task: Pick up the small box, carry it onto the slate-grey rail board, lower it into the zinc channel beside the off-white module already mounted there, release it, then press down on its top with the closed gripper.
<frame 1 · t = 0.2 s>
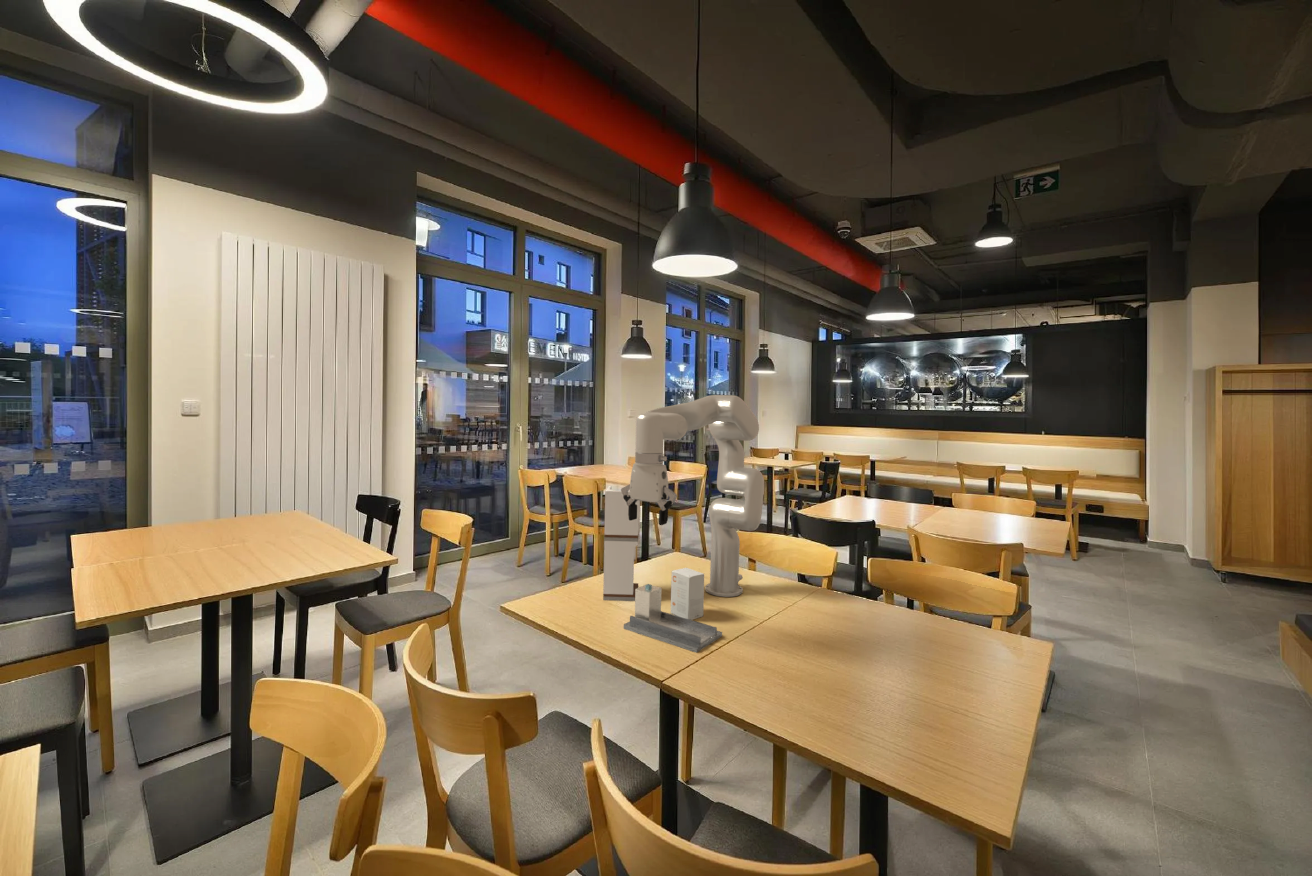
hand: (647, 521, 152), 31 cm above the table, fingers open, 9 cm apart
rail board: (672, 632, 154), on the table
tall banded cabinet: (621, 595, 184), on the table
small box: (686, 615, 167), on the table
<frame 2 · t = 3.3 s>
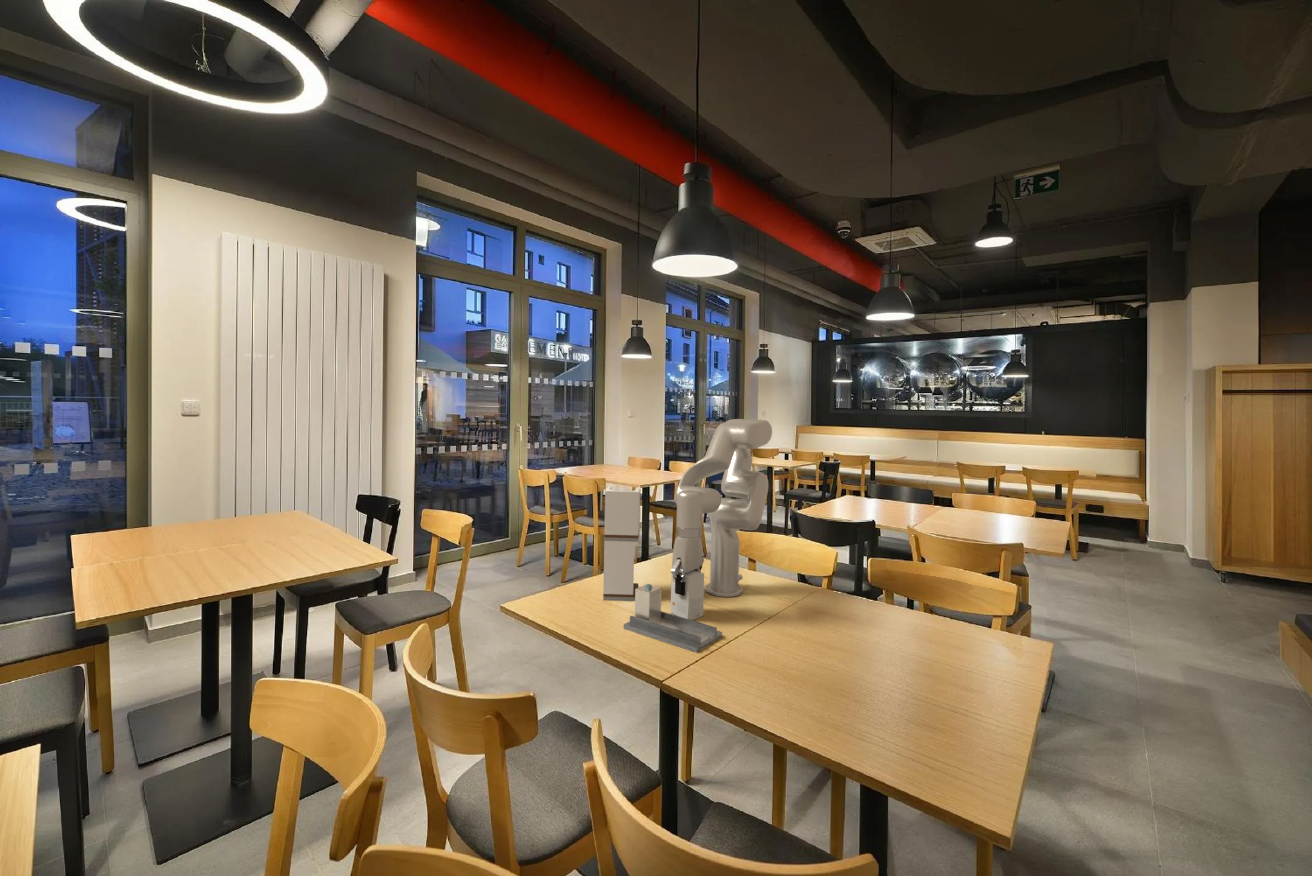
hand: (687, 590, 167), 7 cm above the table, fingers closed on small box, 7 cm apart
small box: (686, 615, 167), on the table, touching gripper
everything else where it was.
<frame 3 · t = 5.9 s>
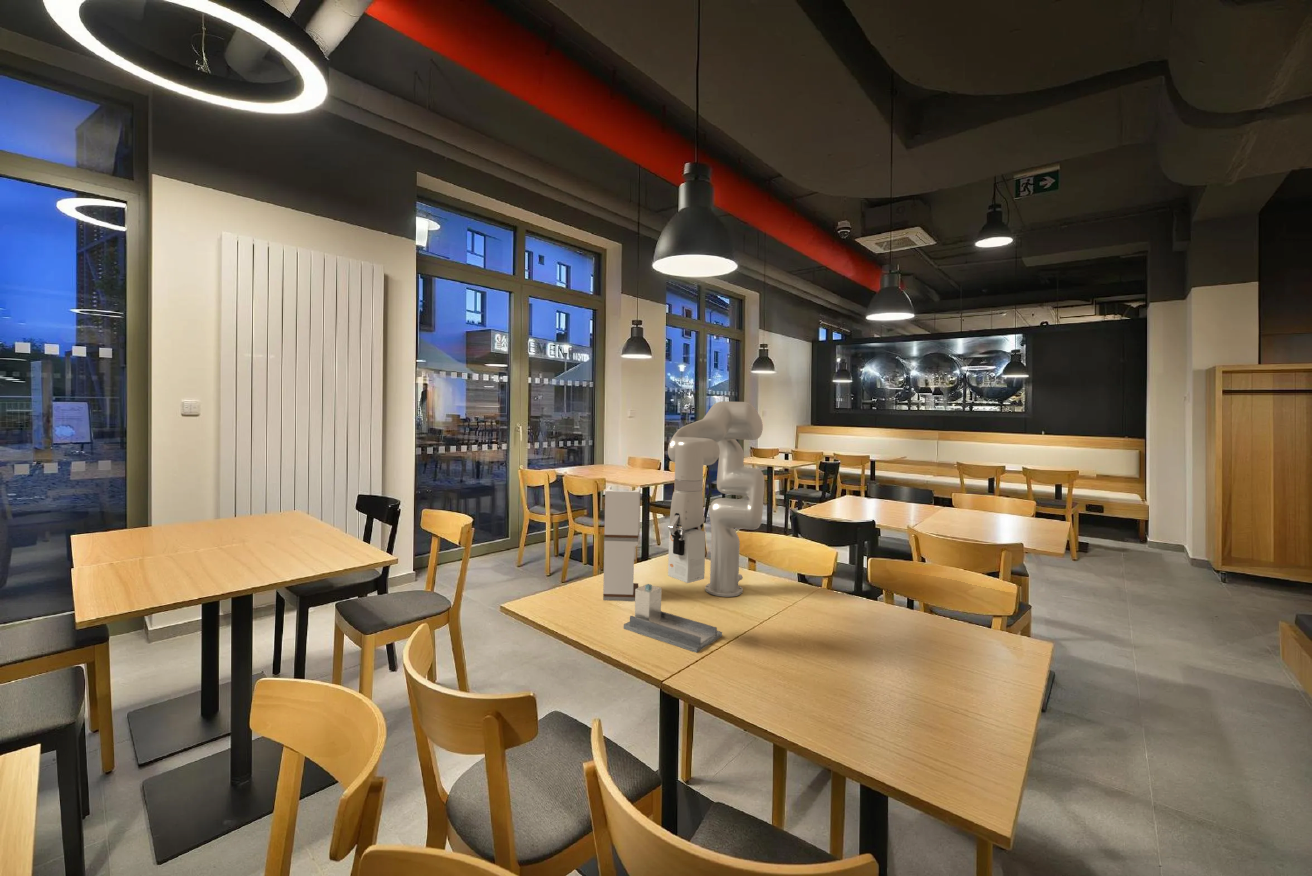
hand: (686, 550, 151), 23 cm above the table, fingers closed on small box, 7 cm apart
small box: (686, 578, 151), point 16 cm above the table, touching gripper
everything else where it was.
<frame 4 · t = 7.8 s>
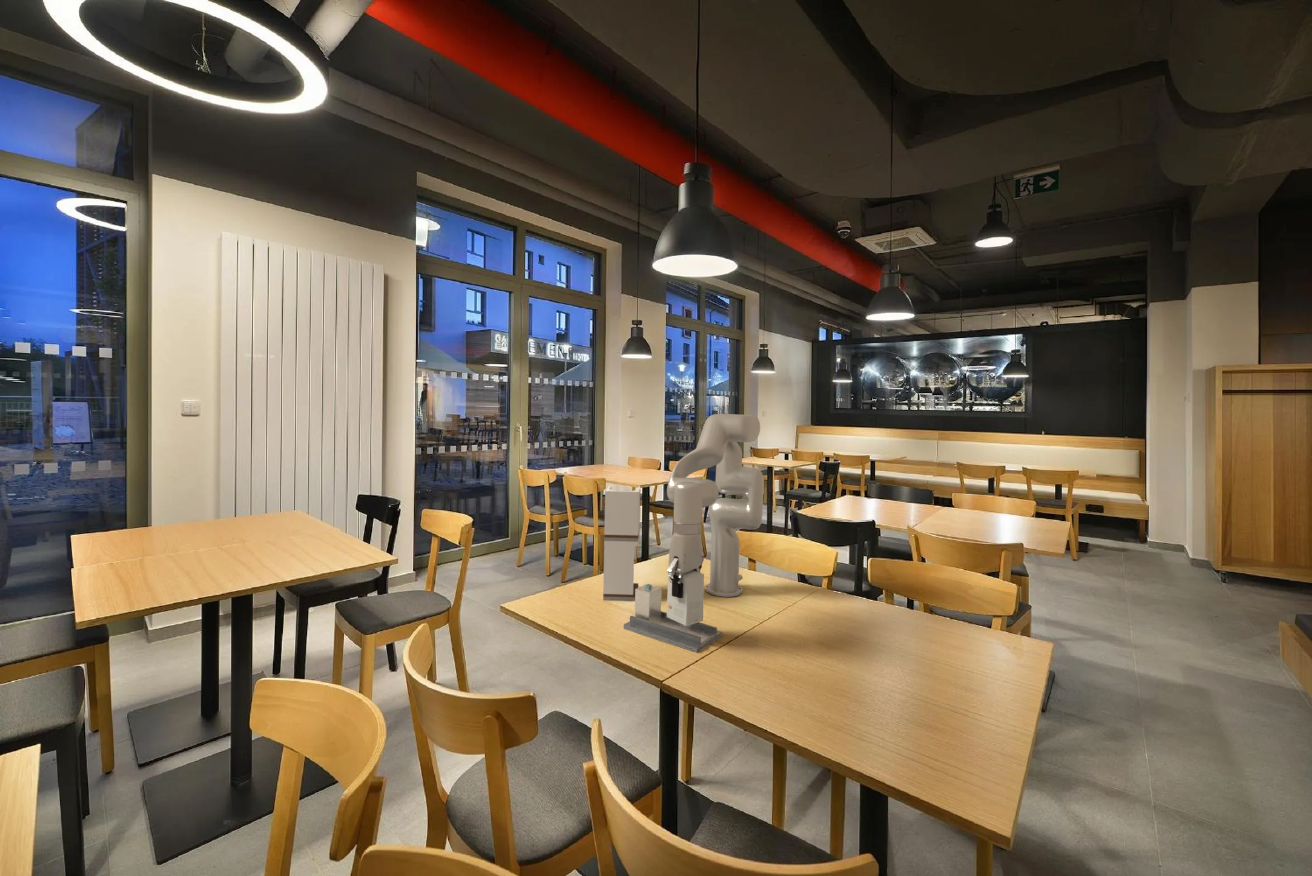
hand: (685, 592, 151), 12 cm above the table, fingers closed on small box, 7 cm apart
small box: (684, 620, 152), point 4 cm above the table, touching gripper
everything else where it was.
when the fingers open (10 cm above the table, at t = 8.9 s): small box stays where it is, resting on rail board.
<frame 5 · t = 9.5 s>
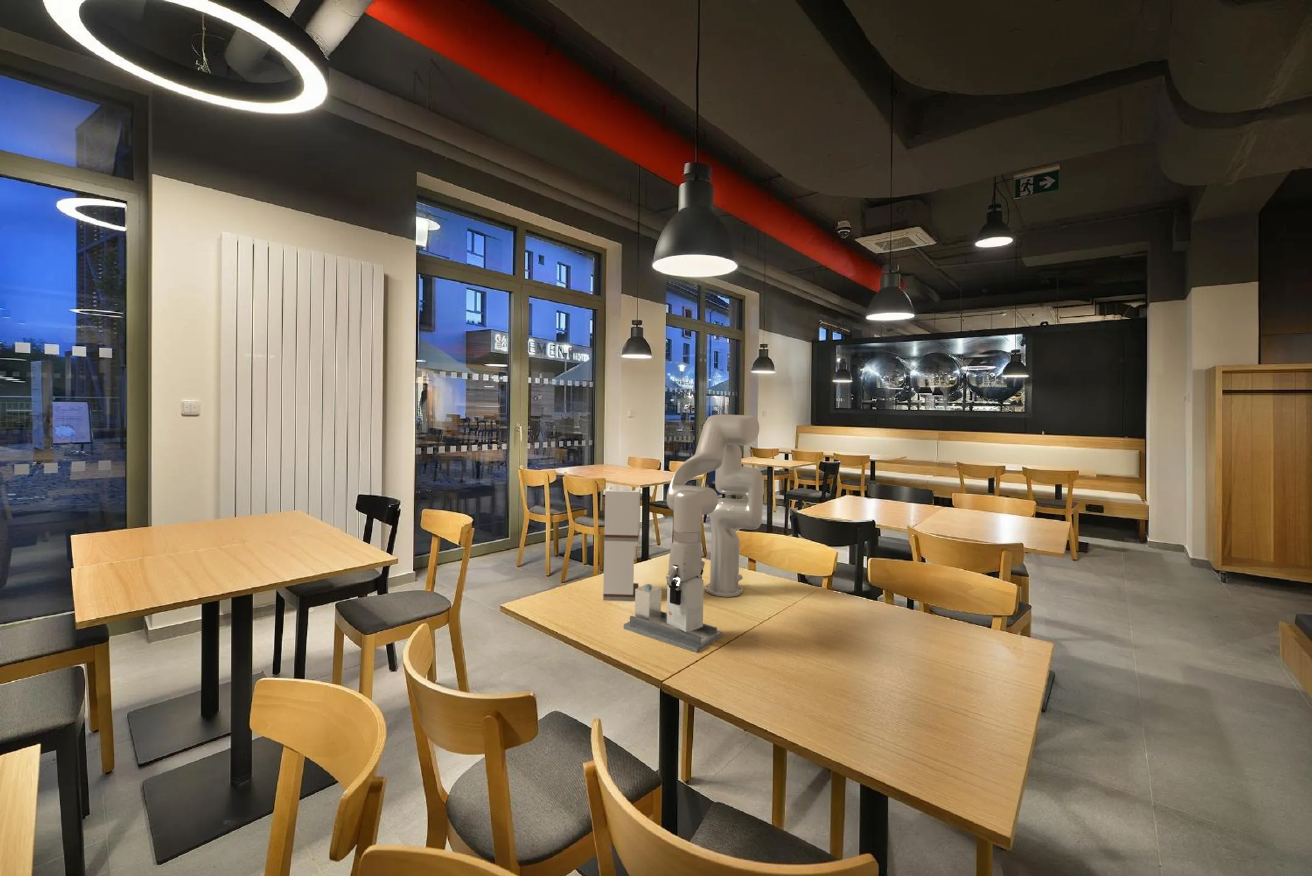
hand: (685, 599, 151), 10 cm above the table, fingers open, 9 cm apart
small box: (684, 626, 152), point 3 cm above the table, touching rail board
everything else where it was.
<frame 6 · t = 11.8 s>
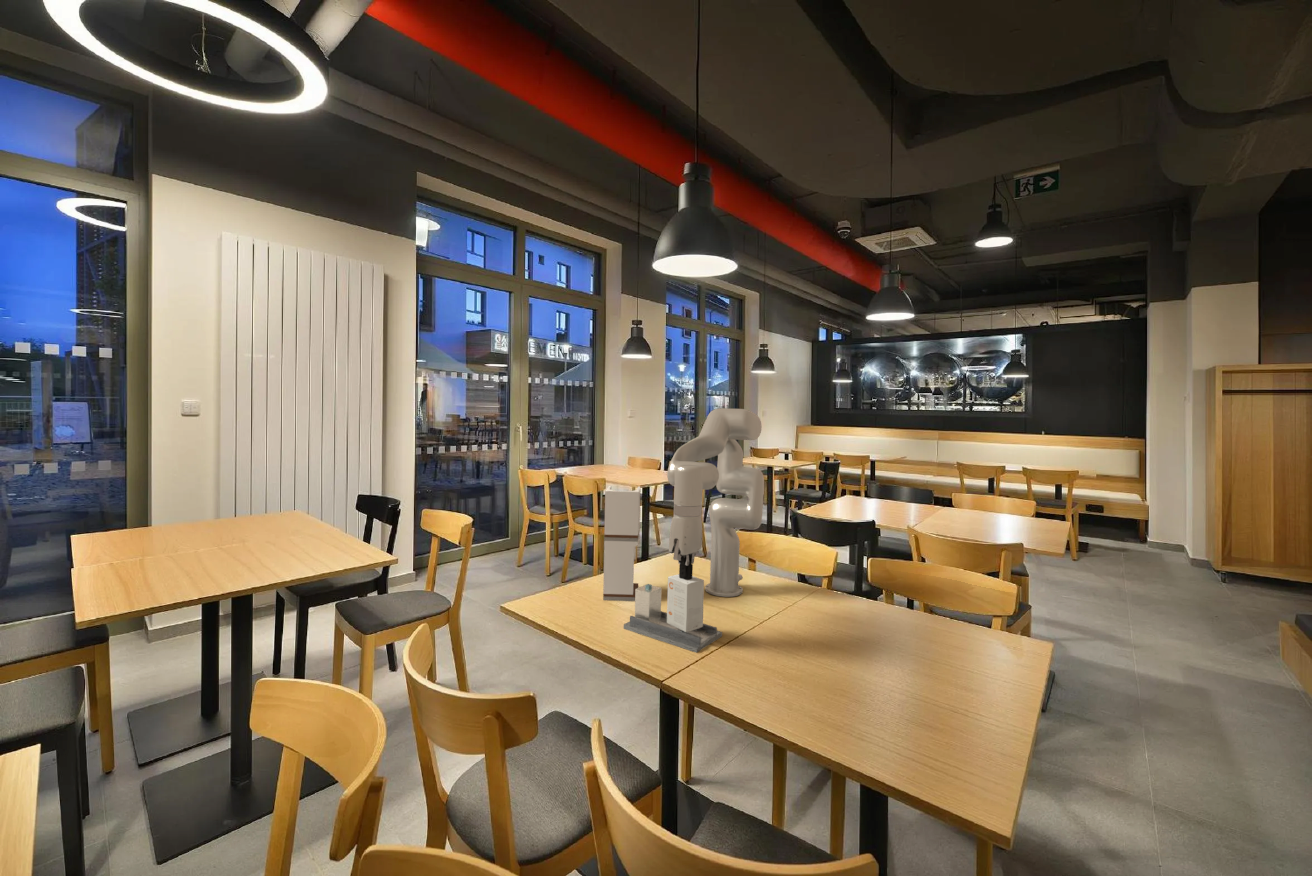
hand: (685, 578, 151), 16 cm above the table, fingers closed
small box: (684, 626, 152), point 3 cm above the table, touching gripper, rail board
everything else where it was.
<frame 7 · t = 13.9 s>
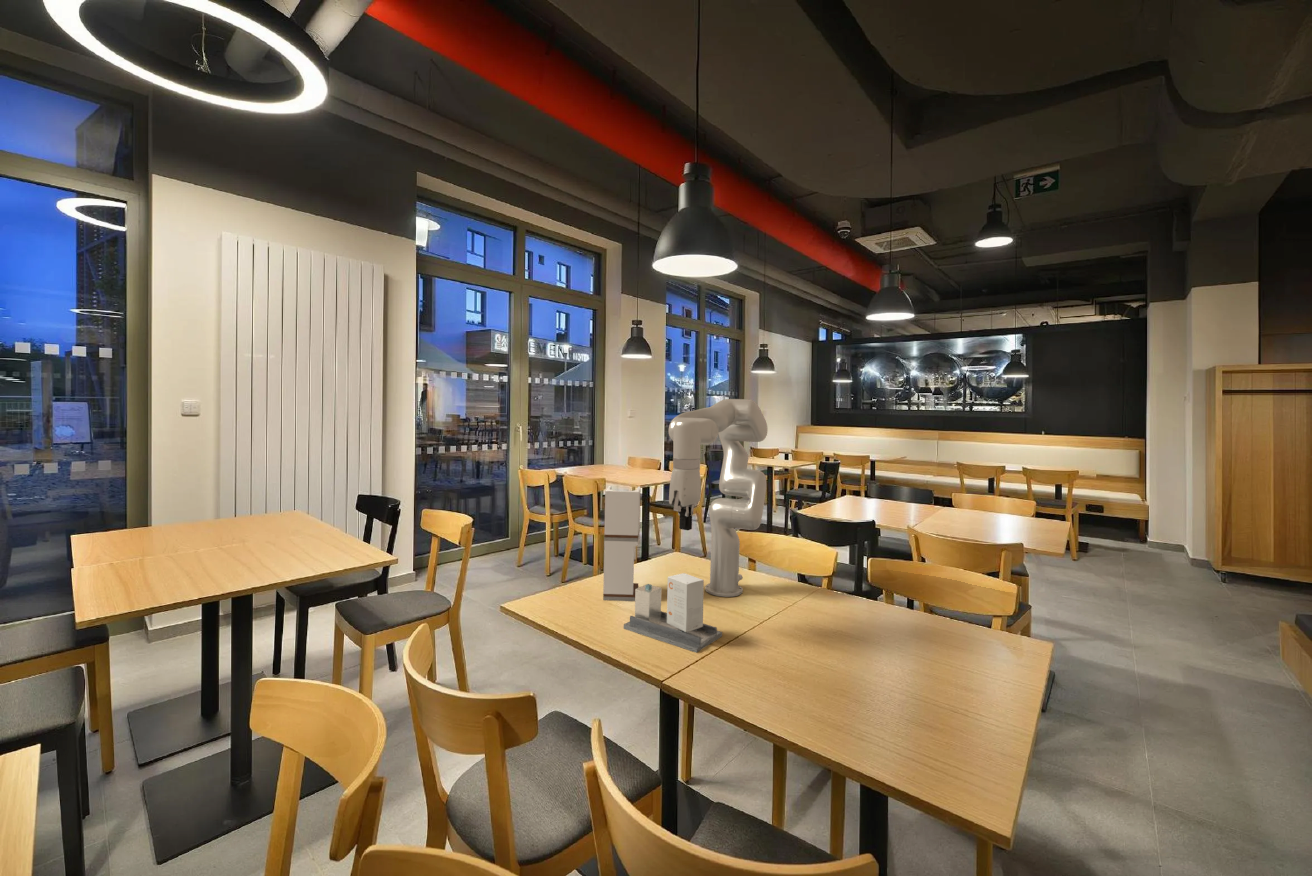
hand: (685, 529, 157), 28 cm above the table, fingers closed
small box: (684, 626, 152), point 3 cm above the table, touching rail board
everything else where it was.
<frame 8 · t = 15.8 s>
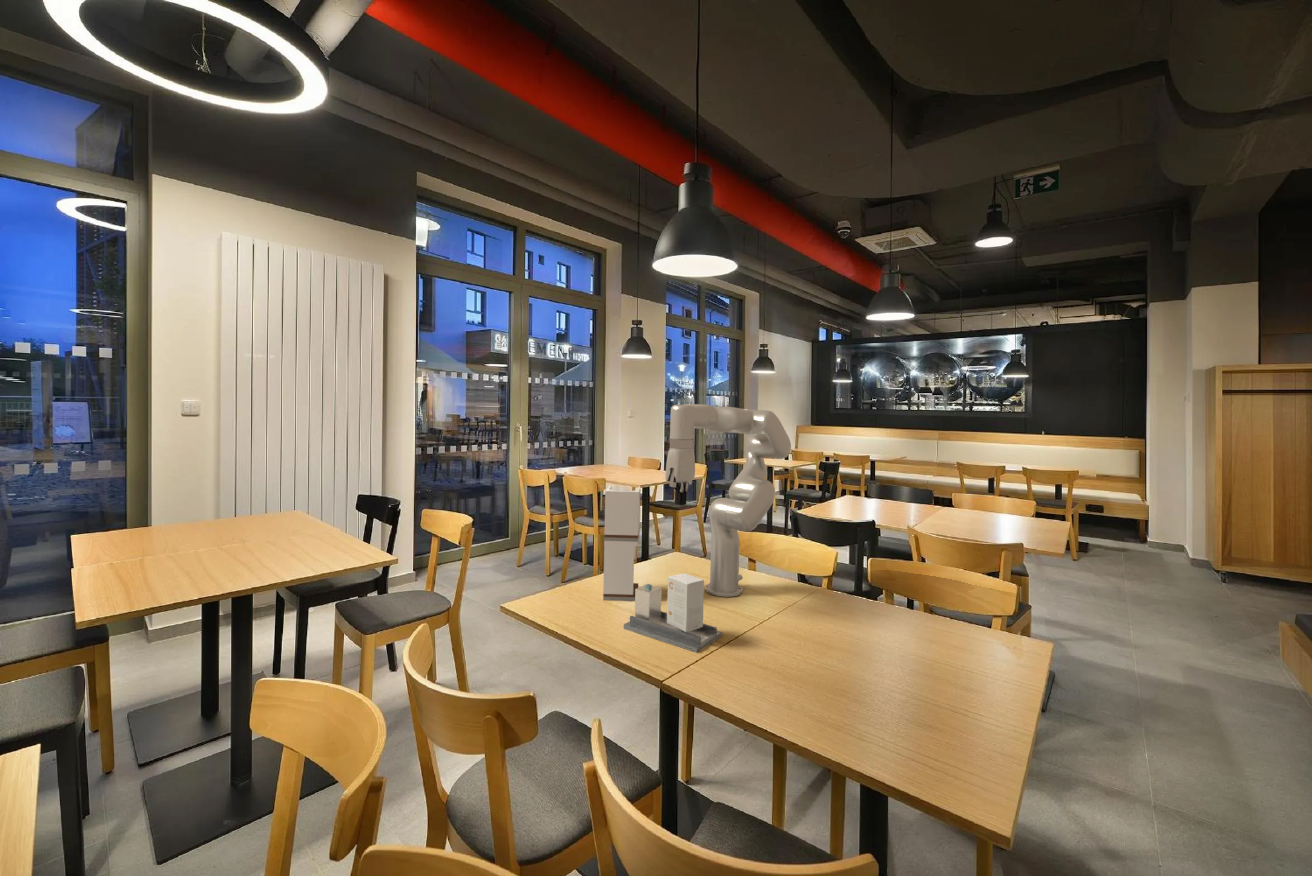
hand: (680, 504, 172), 32 cm above the table, fingers closed
nothing on the table moved.
at the end: small box 0.1 cm from the target spot on the rail board, point 2.8 cm above the rail board's base; small box tilted 0°; the gripper is holding nothing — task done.
